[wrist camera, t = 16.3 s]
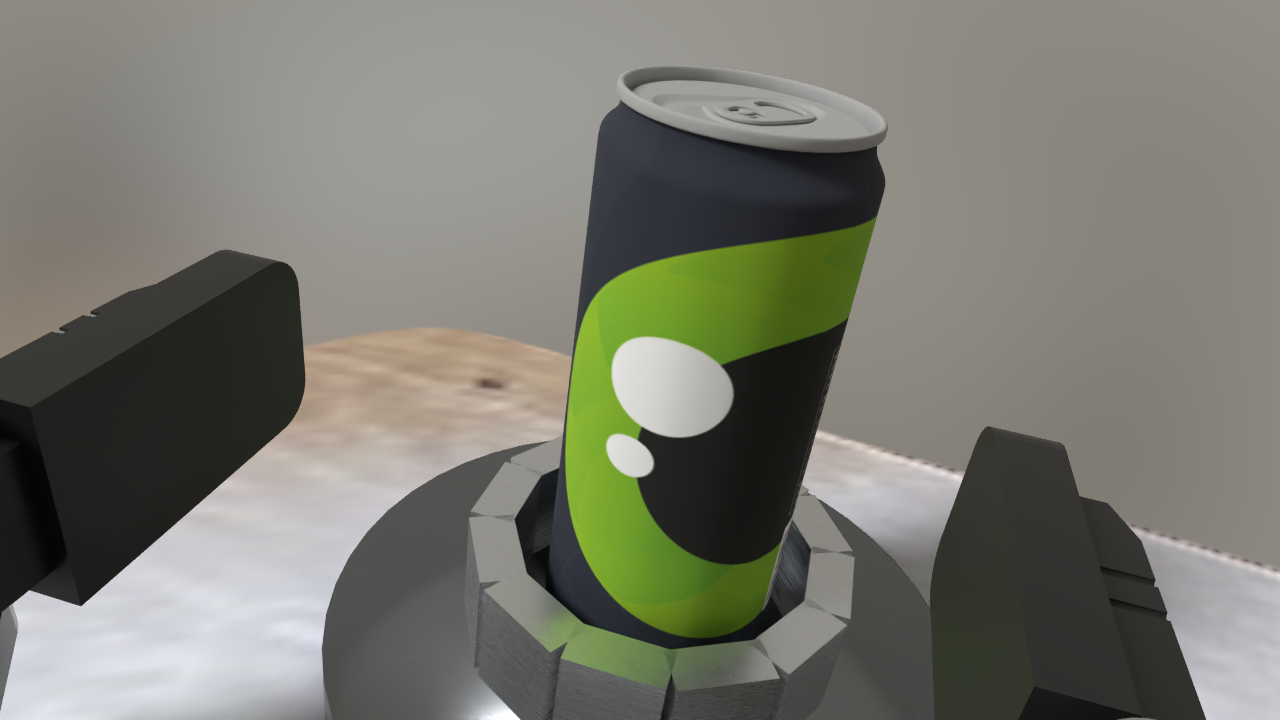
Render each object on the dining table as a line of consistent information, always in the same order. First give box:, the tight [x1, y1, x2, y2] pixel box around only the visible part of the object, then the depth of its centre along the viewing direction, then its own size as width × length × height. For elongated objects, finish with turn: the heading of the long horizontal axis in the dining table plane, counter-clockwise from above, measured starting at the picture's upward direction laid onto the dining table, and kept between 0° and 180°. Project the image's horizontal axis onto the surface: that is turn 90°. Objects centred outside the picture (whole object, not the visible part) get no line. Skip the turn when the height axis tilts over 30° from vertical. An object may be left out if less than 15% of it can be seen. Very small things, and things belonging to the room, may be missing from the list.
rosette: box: [322, 436, 935, 720], centre depth 26 cm, size 18×18×4 cm
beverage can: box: [545, 65, 888, 650], centre depth 22 cm, size 6×6×15 cm
